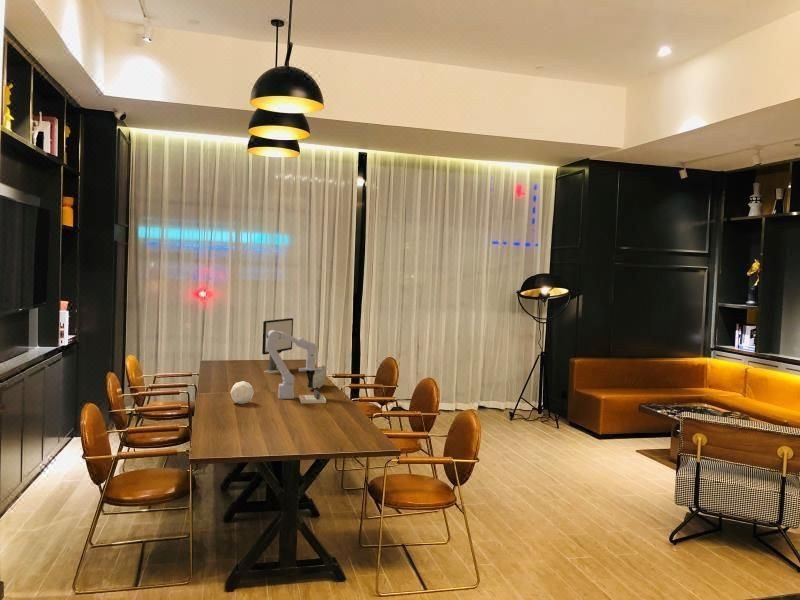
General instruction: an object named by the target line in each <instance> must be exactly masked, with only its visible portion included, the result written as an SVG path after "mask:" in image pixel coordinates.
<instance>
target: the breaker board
mask: <svg viewBox="0 0 800 600" xmlns="http://www.w3.org/2000/svg"><path fill="white" fill-rule="evenodd" d="M325 397H326V396H324V394H320V399H316V398H315V396H314V394H299V395H298V398H299V401H300V403H301V404H327V399H326V398H325Z"/></svg>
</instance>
